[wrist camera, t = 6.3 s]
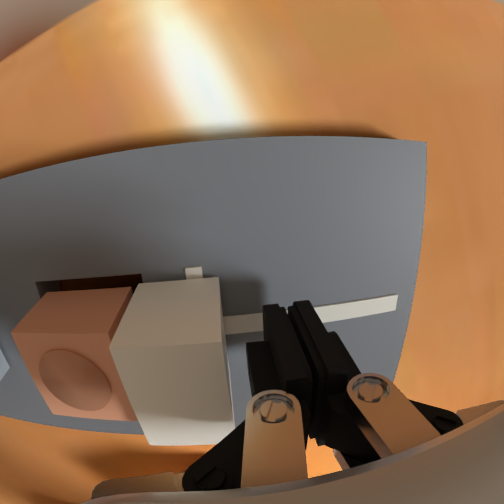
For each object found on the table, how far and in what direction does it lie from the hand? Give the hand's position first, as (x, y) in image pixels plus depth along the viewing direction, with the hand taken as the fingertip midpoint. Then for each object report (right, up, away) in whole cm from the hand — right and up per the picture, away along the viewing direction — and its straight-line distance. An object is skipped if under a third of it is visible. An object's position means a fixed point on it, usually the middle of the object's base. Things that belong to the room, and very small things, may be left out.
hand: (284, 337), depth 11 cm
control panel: (-7, 0, +3) cm, 7 cm away
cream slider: (-4, 0, +1) cm, 4 cm away
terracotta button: (-8, 0, +1) cm, 8 cm away
